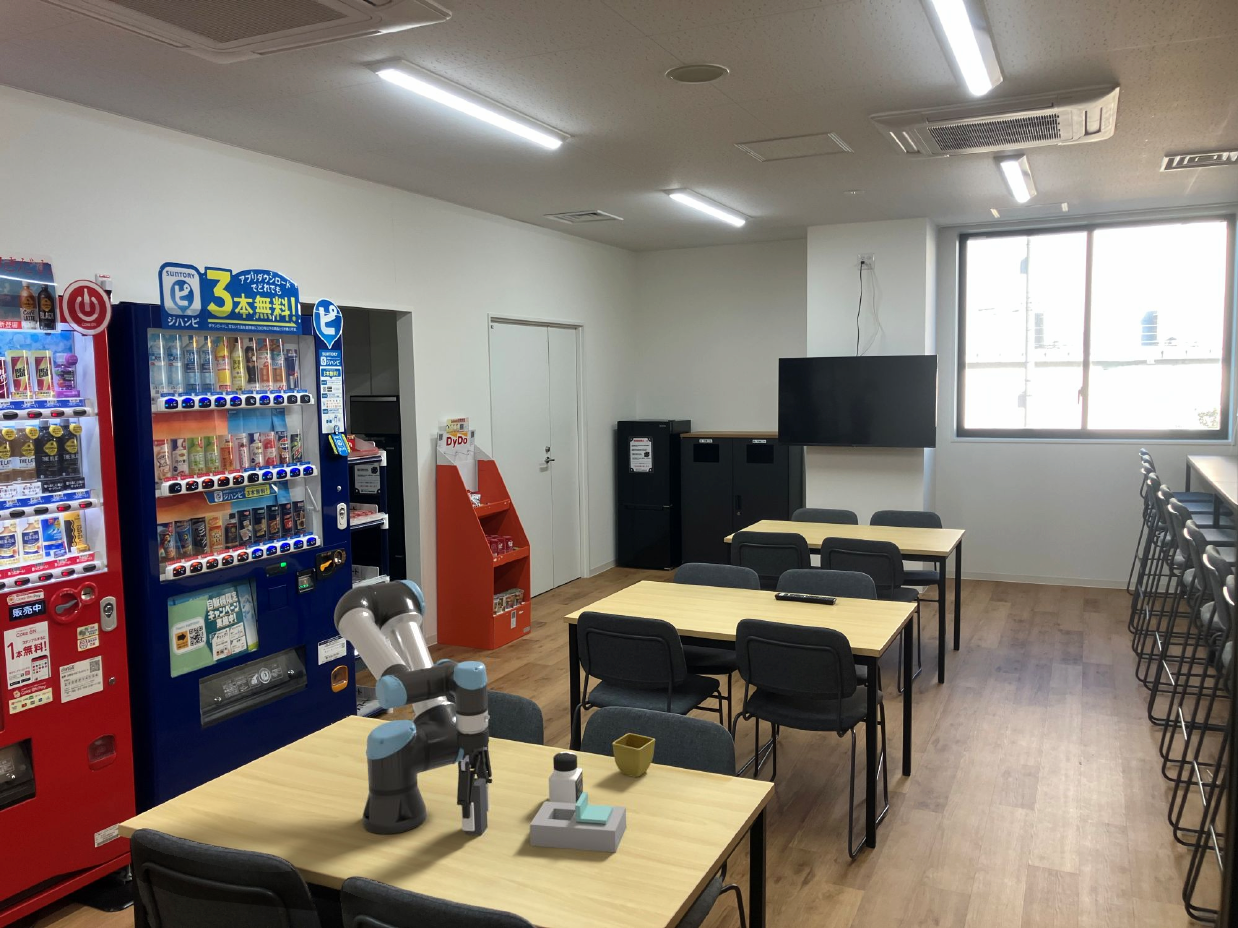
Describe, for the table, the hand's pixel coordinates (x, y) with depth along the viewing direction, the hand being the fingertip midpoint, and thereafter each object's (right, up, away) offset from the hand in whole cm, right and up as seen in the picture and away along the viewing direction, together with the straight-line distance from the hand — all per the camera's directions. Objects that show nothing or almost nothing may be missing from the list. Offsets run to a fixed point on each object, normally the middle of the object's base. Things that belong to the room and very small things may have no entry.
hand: (476, 819), depth 219 cm
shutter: (+28, +3, -5) cm, 29 cm away
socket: (+25, -2, -4) cm, 25 cm away
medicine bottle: (+21, -1, +15) cm, 26 cm away
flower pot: (+38, +1, +31) cm, 49 cm away
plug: (0, -3, 0) cm, 3 cm away
